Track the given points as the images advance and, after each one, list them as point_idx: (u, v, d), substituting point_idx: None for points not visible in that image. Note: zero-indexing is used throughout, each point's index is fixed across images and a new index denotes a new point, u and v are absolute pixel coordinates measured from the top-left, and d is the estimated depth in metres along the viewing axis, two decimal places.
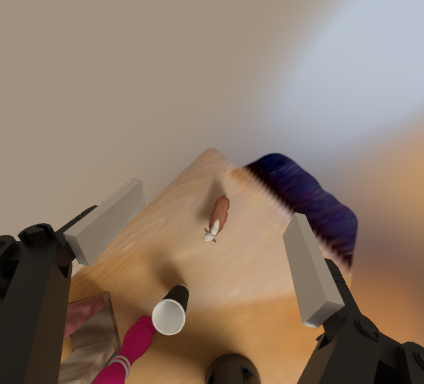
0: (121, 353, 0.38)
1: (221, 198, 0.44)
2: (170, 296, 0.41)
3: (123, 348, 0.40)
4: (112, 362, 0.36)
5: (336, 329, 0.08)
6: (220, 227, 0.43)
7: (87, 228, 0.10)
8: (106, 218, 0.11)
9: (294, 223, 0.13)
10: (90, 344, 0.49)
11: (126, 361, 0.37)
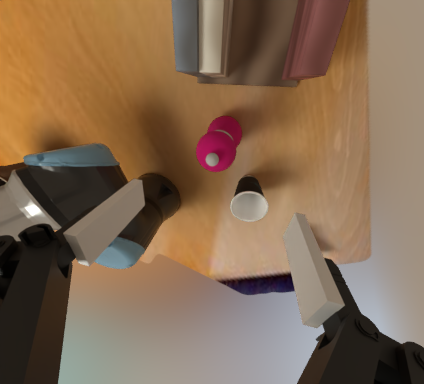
0: None
1: None
2: None
3: None
4: None
5: (336, 329, 0.08)
6: None
7: (87, 228, 0.10)
8: (106, 218, 0.11)
9: (294, 223, 0.13)
10: (233, 27, 0.28)
11: None
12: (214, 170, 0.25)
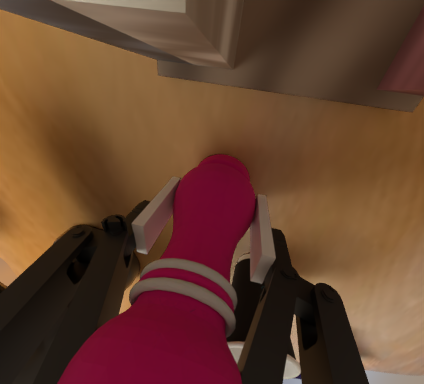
0: None
1: None
2: None
3: (232, 255, 0.10)
4: (229, 328, 0.07)
5: (270, 281, 0.09)
6: None
7: (149, 219, 0.11)
8: (159, 211, 0.12)
9: (256, 202, 0.14)
10: None
11: None
12: None
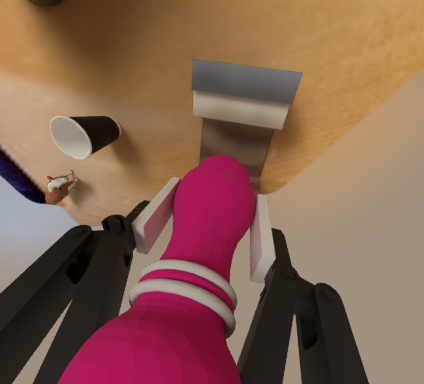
0: None
1: (51, 203, 0.48)
2: None
3: (232, 256, 0.10)
4: (229, 329, 0.07)
5: (270, 281, 0.09)
6: (47, 184, 0.44)
7: (149, 219, 0.11)
8: (159, 211, 0.12)
9: (256, 202, 0.14)
10: None
11: None
12: None
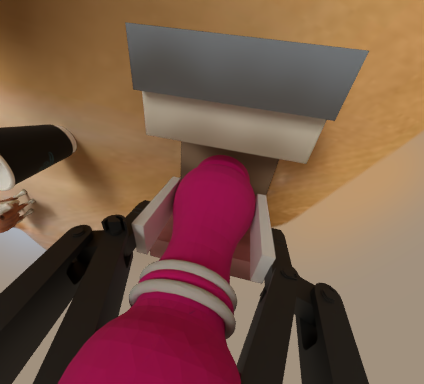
0: None
1: None
2: None
3: (232, 256, 0.10)
4: (229, 330, 0.07)
5: (270, 281, 0.09)
6: None
7: (149, 220, 0.11)
8: (159, 211, 0.12)
9: (256, 202, 0.14)
10: None
11: None
12: None
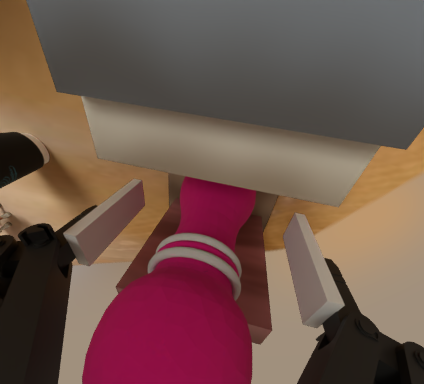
0: None
1: None
2: None
3: None
4: (235, 292, 0.08)
5: (336, 329, 0.08)
6: None
7: (87, 228, 0.10)
8: (106, 218, 0.11)
9: (294, 223, 0.13)
10: None
11: None
12: None
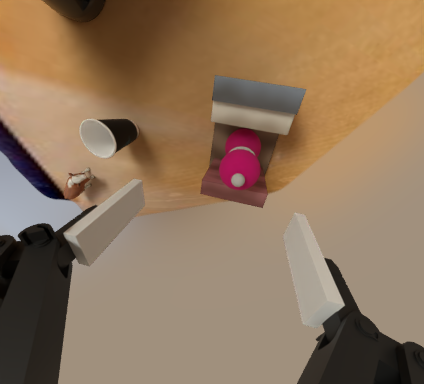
0: None
1: (68, 198, 0.52)
2: None
3: None
4: None
5: (336, 329, 0.08)
6: None
7: (87, 228, 0.10)
8: (106, 218, 0.11)
9: (294, 223, 0.13)
10: None
11: None
12: (236, 189, 0.24)
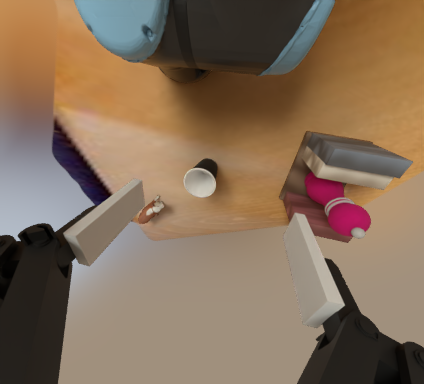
0: None
1: (142, 223, 0.57)
2: None
3: None
4: None
5: (336, 329, 0.08)
6: (146, 209, 0.53)
7: (87, 228, 0.10)
8: (106, 218, 0.11)
9: (294, 223, 0.13)
10: None
11: None
12: (347, 235, 0.29)
